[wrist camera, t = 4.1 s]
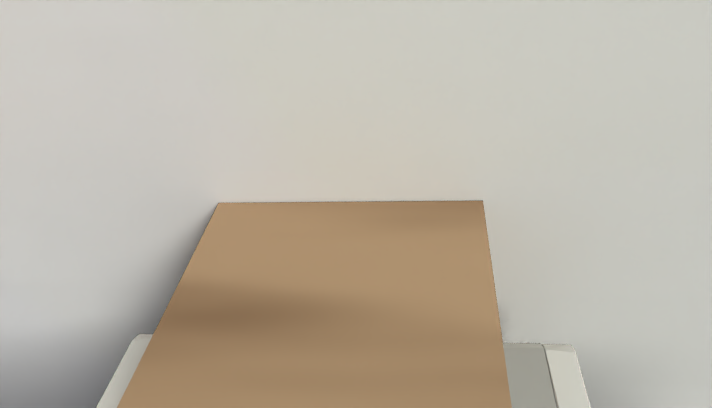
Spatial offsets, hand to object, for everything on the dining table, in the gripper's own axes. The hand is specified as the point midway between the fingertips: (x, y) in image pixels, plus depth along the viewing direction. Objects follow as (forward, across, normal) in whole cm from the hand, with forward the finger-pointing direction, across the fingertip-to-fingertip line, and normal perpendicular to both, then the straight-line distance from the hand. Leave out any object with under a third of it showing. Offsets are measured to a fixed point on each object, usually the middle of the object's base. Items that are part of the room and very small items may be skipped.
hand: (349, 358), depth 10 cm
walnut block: (+2, 0, 0) cm, 2 cm away
